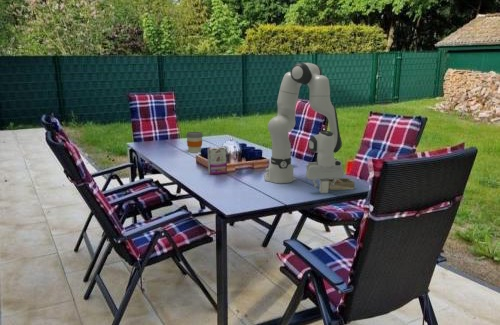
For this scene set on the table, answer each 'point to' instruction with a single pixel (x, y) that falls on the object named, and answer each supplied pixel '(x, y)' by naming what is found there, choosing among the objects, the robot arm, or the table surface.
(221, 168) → the candy bar box
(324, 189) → the plug
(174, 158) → the table surface
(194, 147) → the reusable coffee cup
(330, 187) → the socket block
